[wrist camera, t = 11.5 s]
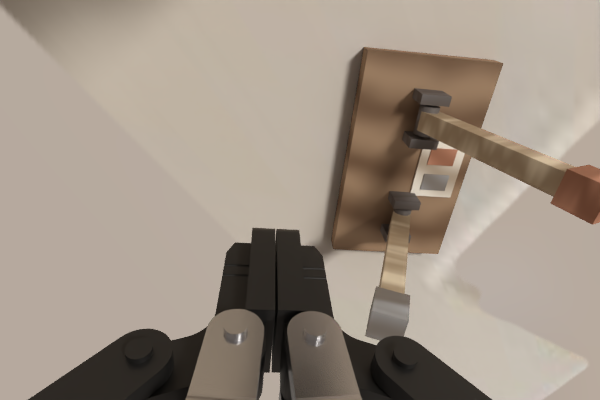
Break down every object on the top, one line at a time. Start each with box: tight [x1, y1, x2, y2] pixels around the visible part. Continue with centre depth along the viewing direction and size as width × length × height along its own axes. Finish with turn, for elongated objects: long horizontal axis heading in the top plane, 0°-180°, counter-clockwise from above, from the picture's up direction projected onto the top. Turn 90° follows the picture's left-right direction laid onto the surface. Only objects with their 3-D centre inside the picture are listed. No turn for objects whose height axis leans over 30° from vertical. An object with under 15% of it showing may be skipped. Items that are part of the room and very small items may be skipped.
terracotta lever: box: [413, 104, 600, 224], centre depth 33 cm, size 3×3×19 cm
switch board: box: [331, 47, 503, 254], centre depth 43 cm, size 24×14×4 cm, turn 174°
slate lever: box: [365, 209, 412, 341], centre depth 38 cm, size 3×3×19 cm
